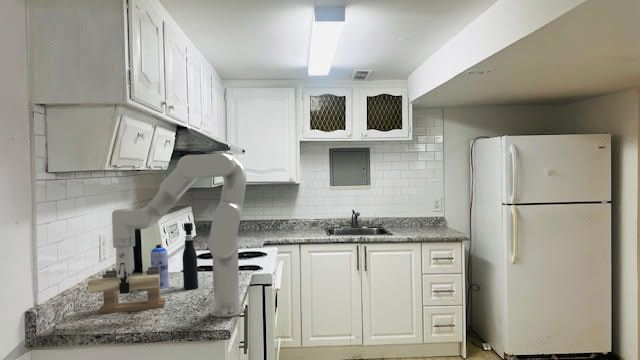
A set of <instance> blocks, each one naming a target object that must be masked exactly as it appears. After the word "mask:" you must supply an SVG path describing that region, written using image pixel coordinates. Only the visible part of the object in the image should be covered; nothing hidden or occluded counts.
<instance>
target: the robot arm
mask: <svg viewBox="0 0 640 360" xmlns="http://www.w3.org/2000/svg"><path fill="white" fill-rule="evenodd" d="M220 177H222V179H223V185H222V189H221V196H220V201H219V205H218V206H217V207H216V208H215V210H214V213H213V217H212V221H211V226H210V233H209V237H208V242H207V243H208V251H209V253H210V254H211V256H212V281H213V282H212V283H213V285H212V286H213V305H214V306H213V307H212V308H211V309H210V310H209V311H210V312H209V313H210V315H211V316H212V317H216V318H229V317H235V316H238V315H241V314H242V313H244V312H245V307H244V306H243V304H242V305H241V299H240V298H241V297H240V296H241V295H240V277H239V275H240V274H239V273H240V271H239V269H240V268H239V239H238V233H239V228H240V222H241V219H242V218H243V217H242V216H243V206H244V202H245V201H244V200H245V196H246V195H245V194H246V187H247V176H246V171H245V168H244V166H243V165H242V164H241V163H240V161H239V160H237V158H235V157H234V156H232V155H230V154H229V153H225V152H223V153H222V152H218V153H205V154H190V155H189V154H188V155H187V154H186V155H184V156H182V157H180V158H179V160H178V161H177V164H176V167H175V168H174V170H172V172H171V173H170V174H169V175H168V176H167V177H165V178H164V180H163V181H161V184H160V187H159V191H158V192H157V193H156V195H155V196H154V197H153V198H152V199H151V200H150V201H149V202H148V204H147V205H146V206H144V207H141V208H138V209H131V208H118V209H114V210H113V211H112V213H111V220H112V221H111V224H112V228H111V229H112V248H114V249H115V256H116V258H115V259H116V260H115V264H116V270H117V276H119V277H120V283H119V294H120V295H125V294H129V293H130V290H129V282H128V277H129V276H131V275H132V273H133V272H134V270H135V257H134V256H135V255H134V247H135V246H136V236H135V235H136V233H135V232H136V230H146V229H148V228H150V227H153V226H155V225H156V224H158V222H160V221H161V219H162V218H163V217H164V216H165V215H166V214H167V213H168V212H169V211H170V209H171V208H172V207H174V205H175V204H176V203H177V202H178V201H179V199H180V198H181V197H182V196H183V195H184V194H185V193H186V192H187V191H188V190H189V188H190V187H191V186H192V185H194V183H196V181H197V180H198V179H208V178H220Z"/></svg>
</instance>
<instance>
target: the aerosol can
mask: <svg viewBox="0 0 640 360" xmlns="http://www.w3.org/2000/svg"><path fill="white" fill-rule="evenodd" d="M168 260H169V257H168V250H167V249H166V248H165V247H163V246H162V244H160V243H159V244H156V245H155V247H154V248H153V249H152V250H151V251H150V267H158V266H159V274H160V290H163V289H167V288H169V287H170V282H169V264H168V262H169V261H168Z"/></svg>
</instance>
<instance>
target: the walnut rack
mask: <svg viewBox="0 0 640 360" xmlns="http://www.w3.org/2000/svg"><path fill="white" fill-rule="evenodd" d="M156 274H159V266H158V267H151V266H149V267H147V270H146V275H156ZM101 276H102V278H115V277H118V274H117V269H114V270H113V269H112V270H106V271H105V273H103V274H102V275H101ZM102 278H101V279H102ZM146 290H147V291H146V292H147V299H142V300H132V301H124V302H119V291H107V292H102V293H103V294H102V295H103V304H102V305H101V306H100V307H99V308H98V311H97V312H98V314H97V315H102V314H103V315H104V314H112V313H114V314H115V313H121V312H122V313H123V312H131V311H132V312H133V311H140V310H149V309H159V308H165V305H166V297H161V289H160V286H159V287H156V288H146Z"/></svg>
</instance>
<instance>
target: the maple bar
mask: <svg viewBox="0 0 640 360" xmlns="http://www.w3.org/2000/svg"><path fill="white" fill-rule="evenodd" d="M128 282H129V291H130V290H141V289H142V290H145V289H147V288H156V287H159V286H160V274H156V275H147V274H146V275H144V274H143V275H133V276H132V275H130V276H129V277H128ZM119 283H120V276H117V277H115V278H92V279H91V278H90V279H89V280H88V281H87V290H88V291H87V292H88V294H91V293H93V294H94V293H103V292H107V291H118V292H120V290H119Z"/></svg>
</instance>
